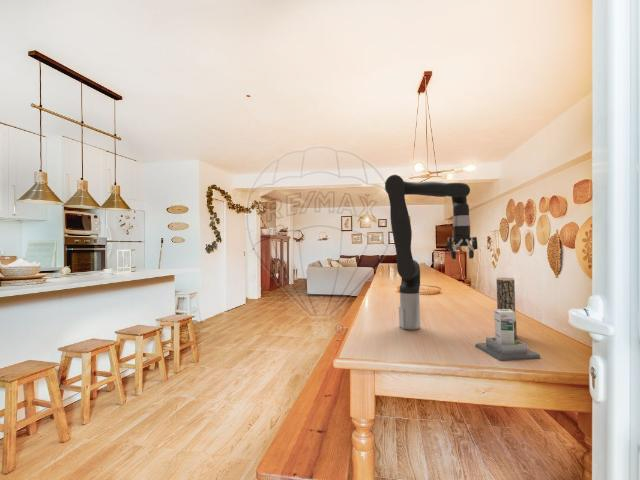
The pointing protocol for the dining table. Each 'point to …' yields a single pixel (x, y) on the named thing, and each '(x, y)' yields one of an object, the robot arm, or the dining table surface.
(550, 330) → the dining table surface
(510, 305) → the bark pattern cylinder
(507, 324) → the syrup box
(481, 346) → the duct collar
